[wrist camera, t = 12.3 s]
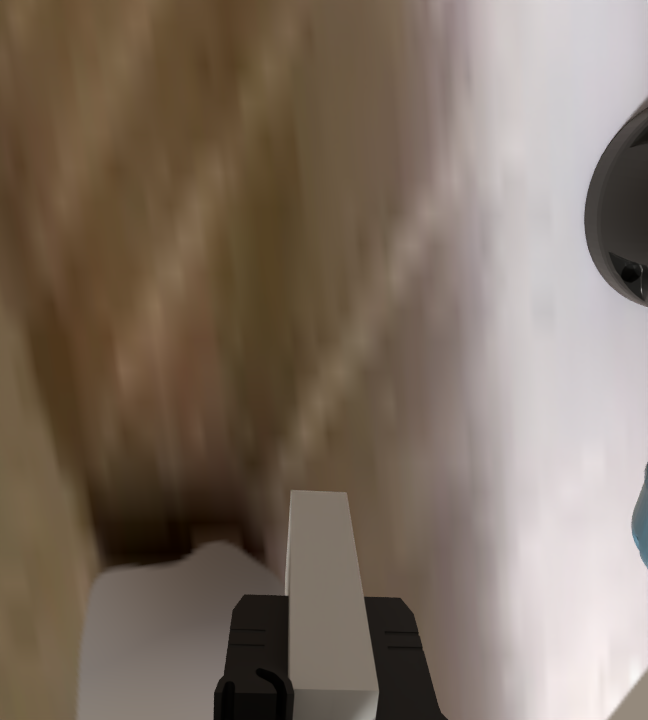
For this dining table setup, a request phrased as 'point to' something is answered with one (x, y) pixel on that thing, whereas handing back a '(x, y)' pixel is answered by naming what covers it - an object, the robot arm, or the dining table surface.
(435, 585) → the dining table surface
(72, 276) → the dining table surface
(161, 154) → the dining table surface
